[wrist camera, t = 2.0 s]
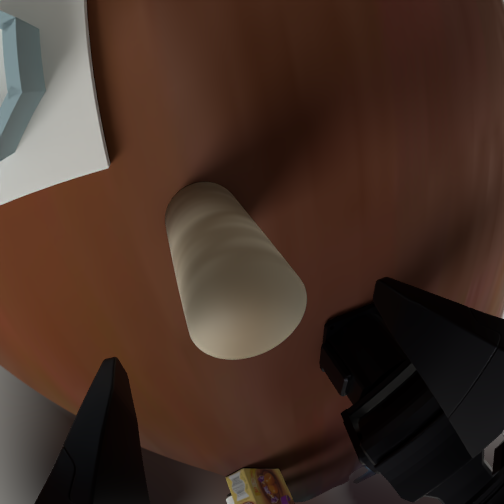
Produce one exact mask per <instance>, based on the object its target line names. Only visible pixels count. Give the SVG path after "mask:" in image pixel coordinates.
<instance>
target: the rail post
mask: <svg viewBox="0 0 504 504" xmlns="http://www.w3.org/2000/svg"><path fill="white" fill-rule="evenodd" d="M165 225H166V230H167V236H168V241H169V246H170V251H171V256H172V261H173V265H174V270H175V275H176V279H177V284H178V288H179V293H180V297H181V301H182V306H183V310H184V314H185V318H186V322H187V326H188V330H189V334H190V336H191V339H192V341H193V342H194V344H195V345H196V346H197V347H198V348H199V349H200V350H202V351H203V352H205V353H206V354H208V355H211V356H213V357H216V358H221V359H231V360H235V359H244V358H249V357H253V356H256V355H259V354H262V353H264V352H266V351H269V350H270V349H272V348H274V347H275V346H277V345H278V344H280V343H281V342H282V341H284V340H285V339H286V338H287V337H288V336H289V335H290V334H291V333H292V332H293V331H294V330H295V328H296V327H297V326H298V324H299V323H300V321H301V319H302V317H303V314H304V312H305V308H306V302H307V294H306V290H305V287H304V284H303V282H302V281H301V279H300V278H299V277H298V275H297V274H296V273H295V272H294V270H293V269H292V268H291V267H290V265H289V264H288V263H287V262H286V260H285V259H284V258H283V257H282V255H281V254H280V253H279V252H278V250H277V249H276V248H275V247H274V245H273V244H272V243H271V242H270V240H269V239H268V238H267V237H266V235H265V234H264V233H263V232H262V230H261V229H260V228H259V227H258V225H257V224H256V223H255V222H254V221H253V219H252V218H251V217H250V216H249V214H248V213H247V212H246V211H245V209H244V208H243V207H242V206H241V205H240V203H239V202H238V201H237V200H236V198H235V197H234V196H233V195H232V194H231V193H230V192H229V191H228V190H227V189H226V188H224V187H223V186H221V185H218V184H216V183H212V182H199V183H194V184H191V185H189V186H186V187H185V188H183V189H182V190H180V191H179V192H178V193H177V194H176V195H175V196H174V197H173V198H172V200H171V201H170V203H169V205H168V207H167V210H166V214H165Z"/></svg>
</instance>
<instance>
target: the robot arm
mask: <svg viewBox="0 0 504 504" xmlns="http://www.w3.org/2000/svg"><path fill="white" fill-rule="evenodd" d="M373 301H374V303H373V304H371V305H368V306H366V307H363V308H361V309H358V310H356V311H353V312H351V313H348V314H345V315H343V316H340V317H337V318H335V319H332V320H330V321H328V322H327V323H326V324H325V326H324V336H323V344H322V347H321V355H320V369H321V370H322V371H323V372H325V373H326V374H327V376H328V377H329V379H330V380H331V382H332V384H333V385H334V387H335V388H336V390H337V391H338V393H339V394H340V395H341V396H345V395H347V396H348V398H349V399H350V401H351V402H352V404H353V405H352V406H351V407H350V408H349V409H346V410H344V411H343V412H342V413H341V416H342V418H343V420H344V422H343V423H344V425H345V427H346V430H347V432H348V434H349V437H350V439H351V442H352V444H353V446H354V449H355V451H356V453H357V456H358V459H359V461H360V463H361V464H365V465H366V466H367V467H368V468H369V469H371V470H372V471H373V472H375V473H378V474H380V473H381V474H382V475H383V476H384V477H385V478H386V479H387V480H388V481H389V482H390V484H391V485H392V486H393V487H394V489H395V490H396V491H397V493H398V494H399V495H400V497H401V498H403V499H405V500H408V501H410V502H415V501H417V500H419V499H420V498H422V497H423V496H425V497H431V498H437V499H438V500H439V501H440V502H441V503H442V504H504V440H503V441H502V442H501V443H500V444H499V446H497V447H496V448H495V451H494V463H493V469H492V468H491V467H490V465H489V464H488V463H487V462H486V460H485V459H484V448H486V447H487V446H488V445H489V444H490V443H491V442H492V441H494V440H495V439H496V438H497V437H498V436H499V435H500V434H501V433H502V434H503V436H504V319H502V318H499V317H495V316H492V315H489V314H486V313H483V312H481V311H478V310H475V309H473V308H469V307H467V306H465V305H462V304H459V303H457V302H454V301H451V300H449V299H446V298H443V297H441V296H438V295H435V294H433V293H430V292H427V291H424V290H422V289H419V288H416V287H413V286H411V285H408V284H405V283H402V282H400V281H397V280H394V279H391V278H389V277H384V278H381V279H379V280H377V281H376V284H375V290H374V295H373ZM63 445H64V447H62V449H61V451H60V453H59V456H58V458H57V460H56V463H55V464H54V467H53V469H52V471H51V473H50V475H49V477H48V479H47V481H46V483H45V485H44V486H43V489H42V490H41V492H40V494H39V496H38V498H37V500H36V502H35V504H150V500H149V494H148V490H147V484H146V478H145V472H144V466H143V461H142V454H141V446H140V439H139V431H138V423H137V417H136V413H135V408H134V404H133V399H132V394H131V389H130V384H129V379H128V376H127V373H126V371H125V370H124V368H123V366H122V365H121V363H120V361H119V360H118V358H117V357H112V358H107V359H105V360H104V361H103V362H102V364H101V366H100V368H99V370H98V372H97V374H96V376H95V378H94V380H93V382H92V384H91V386H90V388H89V390H88V392H87V394H86V396H85V398H84V400H83V403H82V405H81V407H80V409H79V411H78V413H77V415H76V418H75V420H74V422H73V424H72V426H71V428H70V431H69V433H68V435H67V437H66V440H65V442H64V444H63Z"/></svg>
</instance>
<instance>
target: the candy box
mask: <svg viewBox="0 0 504 504" xmlns="http://www.w3.org/2000/svg"><path fill="white" fill-rule="evenodd" d="M226 480H227V483H228V486H229V489H230V492H231V494H232V498H233V500H234V503H235V504H295V503H294V501H293V499H292V496H291V494H290V492H289V490H288V488H287V486H286V483H285V481H284V479H283V477H282V475H281V472H280V470H279V469H251V468H243V469H241V470H239V471H237V472H235V473H233V474H231V475H229V476H227V477H226Z"/></svg>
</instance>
